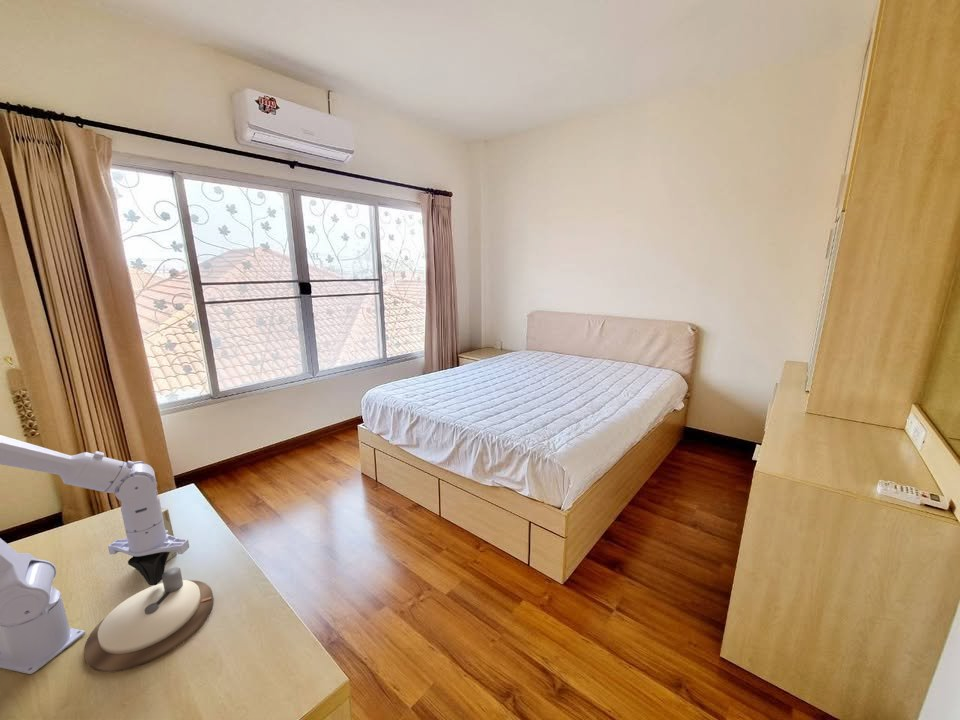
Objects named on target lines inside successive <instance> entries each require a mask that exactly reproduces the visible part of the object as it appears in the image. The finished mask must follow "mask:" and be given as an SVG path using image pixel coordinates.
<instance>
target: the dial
mask: <svg viewBox="0 0 960 720" xmlns="http://www.w3.org/2000/svg"><path fill="white" fill-rule="evenodd" d="M188 580H189V579H188ZM188 580H187V579H183V577H182V571H181V568H180V567H178V566H177V567H176V566H175V567H172V568H169V569H168V570H165V571H164V573H163V574H162V580H161V581H162V582H161V583H160V582H159V583H158V584H157V585H151V586H150V587H146V588H145V589H143V590H140V591H138V592H137V593H135V594H132V596H129V597H128V598H126V599H125V600H124V601H122V602H121V603H120V604H118V605H117V606H115V607H114V608H113V609H112V610H111V611H110V612H109V613H108V614H107V615H106V616H105V617H106V618H105V617H104V618H105V619H104V618H103V619H104V620H103V619H102V620H103V622H102V623H101V625H100V627H99V630H98V640H99V644H100V647H101V648H102V649H103V650H104V651H106V652H108V653H112V654H124V653H130V652H134V651H138V650H141V649H144V648H147V647H149V646H151V645H154V644H156V643H158V642H160V641H161V640H163V639H165V638H167V637H168V636H170V635H172V634H173V633H174V632H176V631H177V630H178V629H180V628H181V627H182V626H183V625H184V624H186V623H187V622H188V621H189V620H190V618H191V617H192V616H193V615H194V614H195V612H196V611H197V609H198V607H199V605H200V601H201V596H200V590H199V587H198V585H197V584H196V583H194V582H192V581H188Z"/></svg>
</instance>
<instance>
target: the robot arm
mask: <svg viewBox="0 0 960 720" xmlns="http://www.w3.org/2000/svg"><path fill="white" fill-rule="evenodd" d="M0 465H2V466H8V467H13V468H18V469H26V470H29V471H30V470H31V471H37V472H43V473H48V474H54V475H58V476H59V477H60V479H61V481H62V482H63V484H64V485H69V486H72V487H73V486H74V487H79V488H82V489H87V490H92V491H93V490H94V491H97V492H102V493H109V494H114V495H115V497H116V499H117V500H118V501H120V504H121V507H120V511H121V517H122V521H123V525H124V530H125V536H126V538H122V539H115V541H113V542H112V543H110V544H109V545H108V546H107V547H108V548H107V549H108V553H109V555H116V554H118V553H123V554H126V555H128V556H130V558H129V559H128V560H127V565H129V566H131V567H133V568H134V569H135V570H136V571H138V572H139V573H140V575H141V577H143V578H144V580H145V581H146V583H147V584H148V585H149V586H154V585H157V584H160V582H161V581H163V580H162V574H163V573H164V572H165V568H166V563H167V562H166V560H167V558H168V555H169V553H170V552H177V554H178V555H183V554H184V553H186V551H188V549H189V548H190V544H189V543H190V541H189V539H186V538H185V539H184V538H180V537H176V536H171V535H168V530H165V526H164V521H163V515H162V510H161V508H162V506H161V501H160V500H161V499H160V497H159V496H158V495H159V493H158V489H157V487H158V482H157V480H156V475H155V474H156V473H155V470H154V468H153V467H152V466H151V465H150V464H148V463H146V462H144V461H142V460H141V461H131V460H127V462H126V461H122V460H119V459H114V458H112V457H107V456H105V453H104V452H103V451H102V452H101V451H98V450H96V451H94V453H91V452H88V451H84V452H80V453H78V454H73V455H70V454H66V453H63V452H61V451H60V452H59V451H56V450H54V449H49V448H46V447H43V446H39V445H36V444H33V443H29V442H25V441H23V440H19V439H15V438H12V437H9V436H5V435H2V434H0ZM56 575H57V567H56V565H55V563H53V562H51V561H49V560H47V559H46V560H45V559H40V558H37V557H35V556H33V555H32V554H31V553H29V552H18V551H17V550H15V549H14V548H13V547H12V546H11V545H9V544H8V543H7V542H6V541H5V540H3V539H2V538H1V537H0V669H3V670H9V671H14V672H19V673H24V674H28V675H32V674H34V673H35V672H37V671H39V670H40V668H42V667H43V666H44V665H46V664H48V662H50V661H51V660H53V659H54V658H55V657H56V656H57V655H59V654H60V653H62V652H63V651H64V650H65V649H66V648H68V647H70V646H71V645H72V644H73V643H75V642H76V641H77V640H79V639H80V638H82V637H83V635H85V634H86V632H85V630H83V629H78V628H73V627H70V624H69V620H68V617H67V613H66V609H65V605H64V602H63V597H62V594H61V591H60V590H58V589H56V588H55V587H54V586H53V584H54V583H53V582H54V579H55V578H56Z"/></svg>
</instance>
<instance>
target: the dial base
mask: <svg viewBox="0 0 960 720" xmlns="http://www.w3.org/2000/svg"><path fill="white" fill-rule="evenodd" d="M188 581H192V582H194V583H196V584H197V585H198V587H199V590H200V596H201V601H200V605H199V607H198V609H197V611H196V612H195V614H194V615H193V616H192V617H191V618H190V620H189V621H188V622H187V623H186V624H184V625H183V626H182V627H181V628H180V629H178V630H177V631H176V632H174V633H173V634H172V635H170V636H168V637H167V638H165V639H163V640H161V641H160V642H158V643H156V644H154V645H151V646H149V647H147V648H144V649H141V650H138V651H134V652H130V653H124V654H112V653H108V652H106V651H104V650H103V649H102V648H101V647H100V644H99V640H98V630H99V627H100V625H101V623H102V622H103V620H104V619H105V618H106V616H105V617H104V618H103V619H102V620H101V621H100V622H98V624H97V625H96V626H95V627H94V628H93V630H92V631H91V633H90V634H89V635H88V637H87V639H86V642H85V643H84V648H83V655H84V659H85V662H86V665H87V666H88V667H89V668H90V669H92V670H93V671H97V672H99V673H100V672H102V673H116V672H118V673H119V672H123V671H127V670H128V671H129V670H132V669H134V668H135V669H136V668H138V667H141V666H143V665H146V664H149V663H151V662H153V661H156V660H157V659H159V658H161V657H164V656H165V655H167V654H168V653H170V652H172V651H174V650H175V649H176V648H178V647H179V646H180V645H182V644H183V643H184V642H186V641H187V640H188V639H189V638H190V637H192V636H193V635H194V634H195V633H196V632H197V631H198V630H199V629H200V628H201V627H202V626H203V624H204V623H205V622H206V620H207V619H208V617H209V615H210V614H211V612H212V610H213V607H214V601H215V600H214V594H213V590H212V588H211V587H210V585H208V584H207V583H206V582H202V581H199V580H192V579H188Z"/></svg>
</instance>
